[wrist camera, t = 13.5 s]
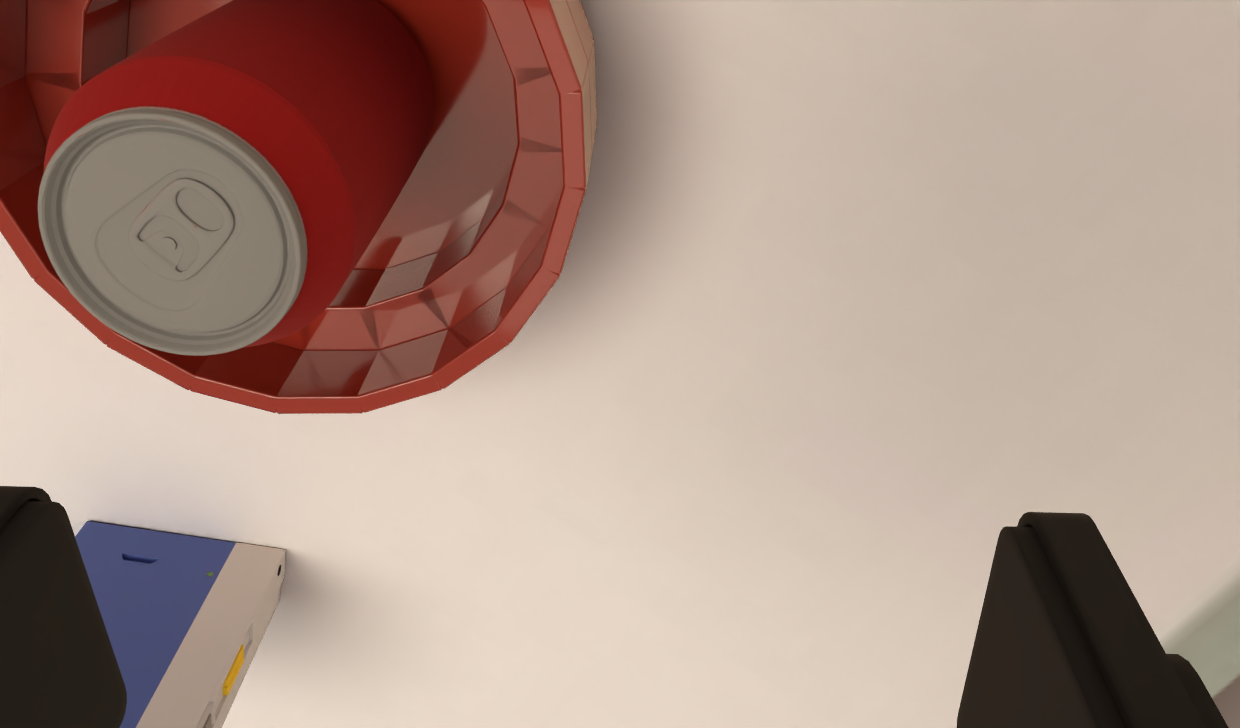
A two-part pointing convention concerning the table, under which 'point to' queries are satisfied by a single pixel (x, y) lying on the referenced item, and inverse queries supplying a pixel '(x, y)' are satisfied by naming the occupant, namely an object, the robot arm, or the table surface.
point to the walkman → (180, 618)
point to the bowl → (416, 224)
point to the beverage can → (234, 171)
